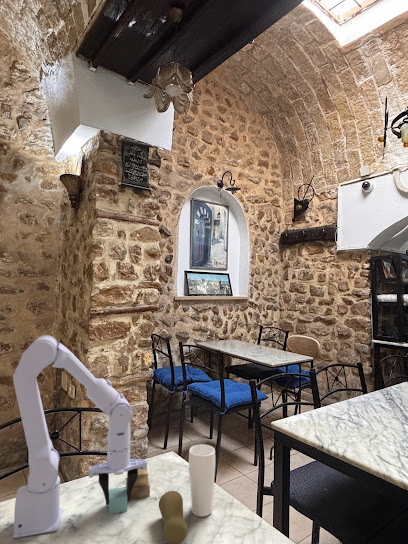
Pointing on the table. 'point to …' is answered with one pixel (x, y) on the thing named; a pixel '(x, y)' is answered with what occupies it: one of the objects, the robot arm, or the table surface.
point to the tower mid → (141, 478)
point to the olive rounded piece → (173, 517)
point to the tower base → (140, 491)
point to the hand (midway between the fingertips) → (117, 501)
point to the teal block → (117, 500)
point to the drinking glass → (202, 478)
